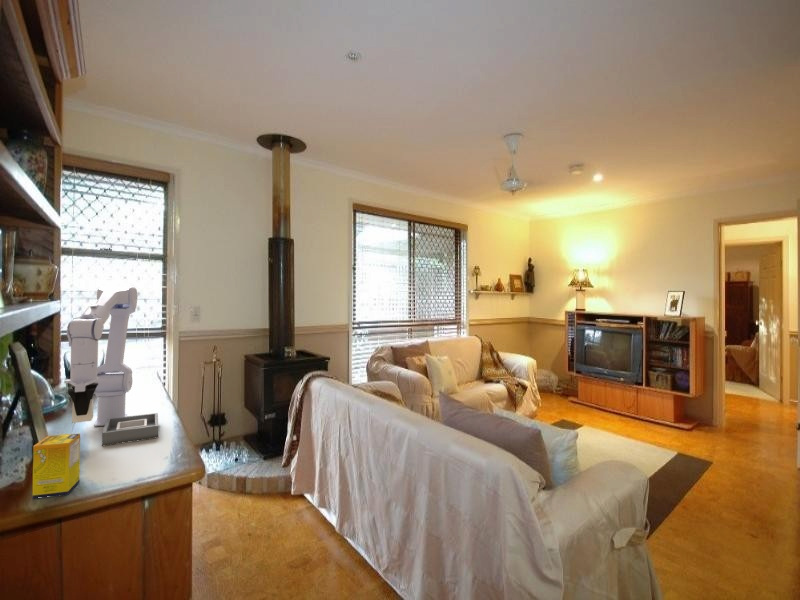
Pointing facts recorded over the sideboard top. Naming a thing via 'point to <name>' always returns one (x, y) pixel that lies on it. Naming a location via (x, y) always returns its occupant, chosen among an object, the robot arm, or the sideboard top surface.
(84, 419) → the connector
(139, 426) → the walled box
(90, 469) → the sideboard top surface
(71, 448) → the supplement box
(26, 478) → the sideboard top surface
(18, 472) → the sideboard top surface
